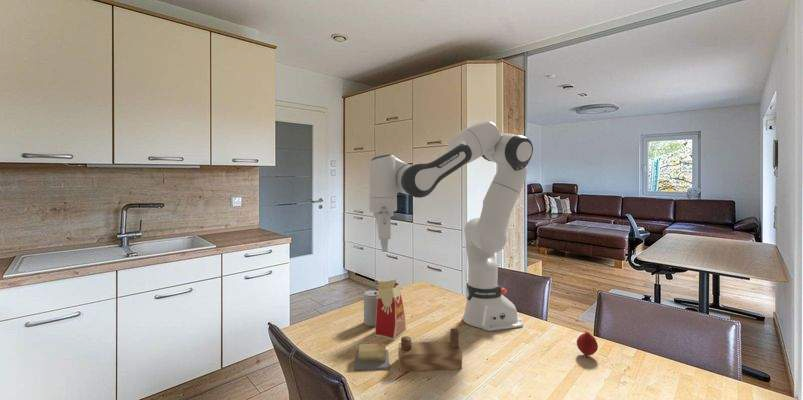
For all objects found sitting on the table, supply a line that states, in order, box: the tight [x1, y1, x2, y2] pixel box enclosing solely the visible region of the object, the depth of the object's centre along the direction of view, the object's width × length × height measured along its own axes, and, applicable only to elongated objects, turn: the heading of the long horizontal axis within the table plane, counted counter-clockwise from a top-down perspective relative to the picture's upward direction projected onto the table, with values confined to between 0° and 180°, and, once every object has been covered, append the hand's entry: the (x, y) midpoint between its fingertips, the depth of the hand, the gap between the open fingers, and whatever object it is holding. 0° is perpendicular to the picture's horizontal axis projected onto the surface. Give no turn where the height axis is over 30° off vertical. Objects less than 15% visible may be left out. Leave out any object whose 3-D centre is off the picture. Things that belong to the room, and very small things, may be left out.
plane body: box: [398, 328, 463, 372], centre depth 106 cm, size 18×7×10 cm, turn 95°
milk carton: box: [374, 278, 407, 342], centre depth 126 cm, size 9×9×20 cm
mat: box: [354, 349, 391, 371], centre depth 108 cm, size 10×10×1 cm
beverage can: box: [363, 290, 378, 328], centre depth 134 cm, size 6×6×12 cm
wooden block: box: [358, 342, 387, 363], centre depth 108 cm, size 8×4×4 cm, turn 95°
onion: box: [576, 330, 599, 357], centre depth 111 cm, size 6×6×8 cm
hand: (384, 248), depth 115 cm, fingers open, 8 cm apart
